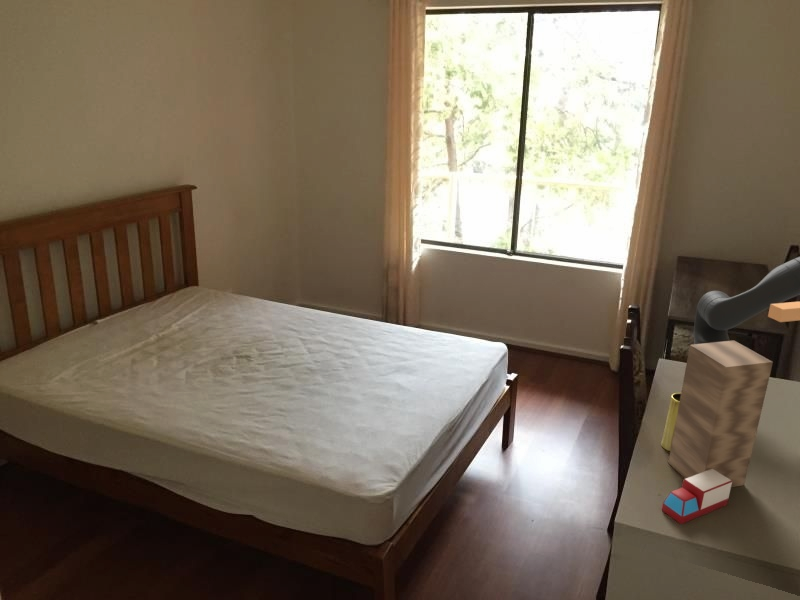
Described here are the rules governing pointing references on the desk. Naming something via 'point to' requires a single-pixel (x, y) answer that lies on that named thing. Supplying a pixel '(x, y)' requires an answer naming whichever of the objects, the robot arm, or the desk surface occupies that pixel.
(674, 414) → the vase
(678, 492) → the toy truck
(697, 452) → the pedestal
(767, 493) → the desk surface
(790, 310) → the light orange bar
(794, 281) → the robot arm
